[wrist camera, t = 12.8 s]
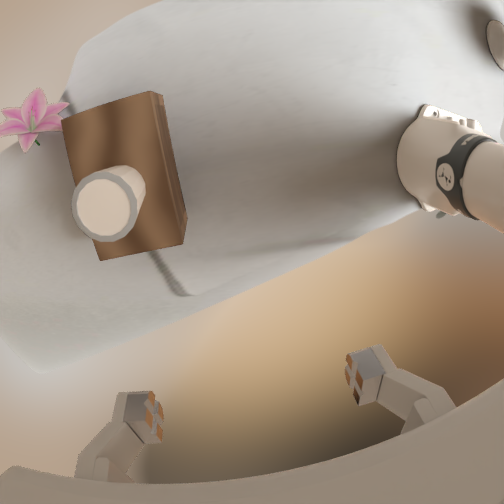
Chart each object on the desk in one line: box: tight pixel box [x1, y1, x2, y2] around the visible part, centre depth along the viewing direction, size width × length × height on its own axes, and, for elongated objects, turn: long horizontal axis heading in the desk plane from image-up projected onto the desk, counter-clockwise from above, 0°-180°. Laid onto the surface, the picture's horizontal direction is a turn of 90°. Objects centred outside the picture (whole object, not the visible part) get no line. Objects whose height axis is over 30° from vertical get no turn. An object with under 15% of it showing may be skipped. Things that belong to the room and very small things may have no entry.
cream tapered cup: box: [71, 165, 146, 242], centre depth 28 cm, size 7×7×7 cm
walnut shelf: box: [61, 91, 188, 261], centre depth 35 cm, size 11×18×9 cm, turn 8°
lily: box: [0, 88, 70, 153], centre depth 31 cm, size 12×12×10 cm
